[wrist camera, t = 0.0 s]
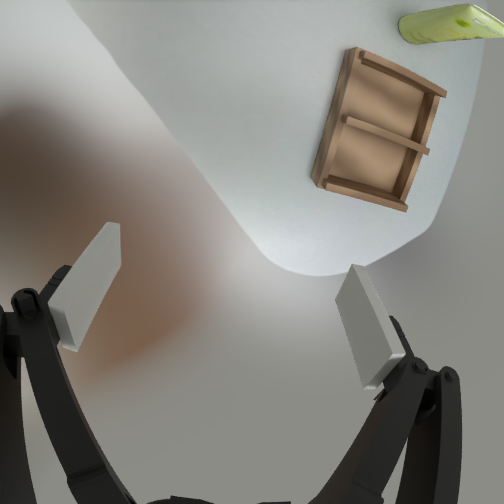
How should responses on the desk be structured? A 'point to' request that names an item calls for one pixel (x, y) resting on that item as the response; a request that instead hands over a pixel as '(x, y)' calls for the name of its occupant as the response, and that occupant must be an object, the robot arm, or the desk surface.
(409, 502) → the robot arm
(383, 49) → the desk surface
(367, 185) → the rack
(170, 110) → the desk surface
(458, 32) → the tube
